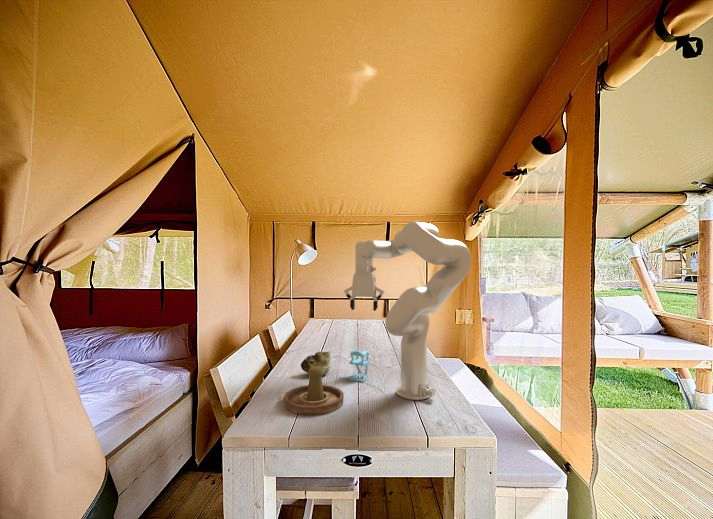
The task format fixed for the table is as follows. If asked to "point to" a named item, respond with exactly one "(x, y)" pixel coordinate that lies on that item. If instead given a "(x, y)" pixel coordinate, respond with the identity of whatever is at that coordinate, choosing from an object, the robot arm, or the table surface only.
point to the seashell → (317, 362)
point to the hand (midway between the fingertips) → (363, 309)
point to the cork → (315, 384)
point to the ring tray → (299, 404)
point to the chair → (359, 362)
